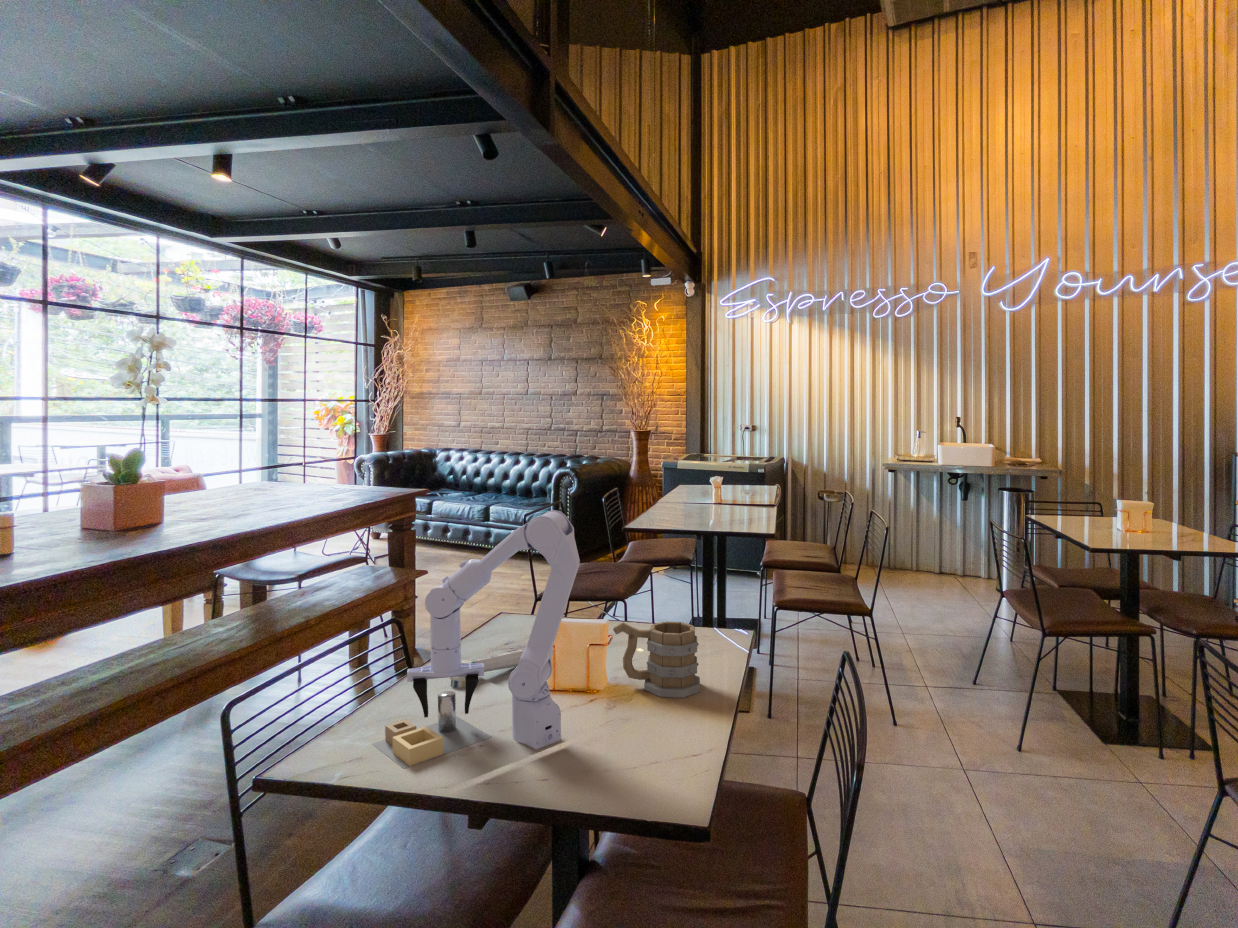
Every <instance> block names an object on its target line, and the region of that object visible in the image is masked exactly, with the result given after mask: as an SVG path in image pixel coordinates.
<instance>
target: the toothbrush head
mask: <svg viewBox="0 0 1238 928" xmlns="http://www.w3.org/2000/svg"><path fill="white" fill-rule="evenodd" d="M524 650H525V648H523V647H520V648H519V649H516V650H512V651H507V652H504V653H503V652H502V653H500V654H494V655H491V656H485V657H482V658H477V659H473V660H470V659H469V660H468V659H461V663H476V664H477V663H483V664H484V673H486V672H492V671H500V670H505V669H509V668H510V669H511V668H516V667H517V666H518V664H519V661H520V658H521V656H522V654H523V652H524ZM449 680H450V687H453V688H465V676H461V677H449Z"/></svg>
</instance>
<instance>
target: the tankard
mask: <svg viewBox="0 0 1238 928" xmlns="http://www.w3.org/2000/svg"><path fill="white" fill-rule="evenodd" d="M695 627H696V626H694V625H692V624H689V623H687V622H683V621H682V622H681V621H661V622H657V623H652V624H651V625H650V629H639V628H636V627H633V626H631V625H629V624H628V623H625V622H623V621H622V622H621V623H619V624H617V625H615V626H613V628H612V630H613V632H614V633H615V635H619V634H620V633H622V632H623V633H625V634H626V635H627V636H628V637H627V638H628V639H627V646H626V649H625V651H624V653H623V654H624V655H623V658H622V668H623V670H624V672H625V673H626V675H627V677H628V678H629V679H633V680H639V681H643V680H644V686H643V687H644V691H646V692H648V693H650V694H653V695H655V696H657V697H660V698H677V699H678V698H679V699H684V698H687V697H689V696H693V695H695V694H698V693H701V679H700V676H698V675H697V674H698V667H699V663H698V656H696V653H698V646H699V642H698V636H697V635H695V634H696V633H695V632H696V628H695ZM638 638H640V639H641V638H642V639H647V641H646V645H647V649H646V650H647V651H648V652H649V655H648V658H647V661H646V665H647V669H641V670H640V669H636V668H634V665H633V658H634V656H635V653H636V650H637V645H638Z"/></svg>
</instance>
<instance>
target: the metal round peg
mask: <svg viewBox="0 0 1238 928" xmlns="http://www.w3.org/2000/svg"><path fill="white" fill-rule="evenodd" d="M456 701H457V699H456V691H453V690H445V691H441V692H439V693H438V694H437V723H438V731H439V732H441V733H449V732H452V731H454V730H456V716H457V710H456V709H457V708H456V707H457V705H456V703H457V702H456Z"/></svg>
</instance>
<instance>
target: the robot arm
mask: <svg viewBox="0 0 1238 928" xmlns="http://www.w3.org/2000/svg"><path fill="white" fill-rule="evenodd" d="M532 548H533V549H534V550H535V551H537V552H538V553H539V554H541V555H542V556H543V557H544V559H545V560H546V562H547V564H548V565H549V566H550V572H549V576H548V579H547V581H546V584H545V587H544V591H543V594H542V597H541V600H540V603H539V606H538V609H537V612H536V616H535V619H534V622H533V625H532V628H531V631H530V634H529V637H528V640H527V644H526V646H525V648H524V649H525V650H524V652H523V654H522V656H521V658H520V661H519V664H518V666H517V667H514V669H513V670H512V671H511V672H510V674H509V676H508V680H507V686H508V690H509V691H510V693H511V709H512V711H511V713H512V714H511V715H512V716H511V717H512V718H511V719H512V720H511V721H512V722H511V723H512V724H511V725H512V728H511V729H512V730H511V731H512V733H511V734H512V739H513V740H514V741H515V742H517V743H520V744H524V745H526V746H529V747H530V748H532V749H534V750H538V749H541V748H544V747H546V746H549V745H552V744H554V743H556V742H559V741H561V740H562V721H561V720H562V718H561V717H562V713H561V709H560V706H559V705H558V703H557V702H555V701H554V700H553V698H552V696H551V693H550V691H551V689H550V686H549V684H548V680H549V679H550V677H551V675H552V672H553V665H552V658H553V655H554V654H553V653H554V650H553V647H554V644H555V641H556V638H557V635H558V632H559V629H560V626H561V623H562V619H563V616H564V613H565V611H566V607H567V605H568V601H569V598H570V594H571V593H572V592H571V591H572V589H573V587H574V582H575V580H576V576H577V574H578V570H579V567H580V563H581V560H580V556H579V551H578V547H577V542H576V539H575V527H574V526H573V524H572V523H571V522H570V520H569V519H568V516H567V515H566V514H565V513H563V512H562V511H559V510H557V509H556V510H555V509H551V510H548V511H545V512H544V513H543V514H541V515H538V516H535V517H533V518H532V519H531V520H530V521H528V522H527V523H525V524H523V525H522V526H519V527H518V528H516V529H514V530H513V531H512V532H511V533H510V534H508V535H507V536H506V537H505V538H503V540H501V541H500V542H499V543H498V544H497V545H496V546H495V547H494V548H492V549H491V550H490V551H489V552H488V553H487V554H485V555H484V556H483V557H482V558H481V559H478V558H472V559H469V560H467V559H465V560H463V561H462V562H461V563H459V567H460V568H458V569H457V570H456V571H455V572H454V573H453V574H451V575H450V576H445V577H444V578H443V579H442V580H441V582H442V584H441V585H438V586H435V587H433V588H431V589H430V590H429V592H428V594H427V595H426V596H425V599H424V606H425V609H426V612H427V613H429V617H430V618H429V619H430V623H429V625H430V630H429V632H430V633H429V634H430V664H428V665H425V666H420V667H413V668H407V670H406V678H407V679H406V682H407V683H410V682H411V683H412V688H413V690H414V692H415V694H416V696H417V697H418V699H419V700H418V701H420V704H421V709H422V710H423V711H422V712H423V718H428V717H429V701H428V680H432V679H434V680H435V679H436V680H437V679H444V678H445V679H447V678H450V677H461V676H465V687H464V688H465V694H464V695H465V696H464V714H465V715H467V714H469V710H470V704H471V701H472V698H473V695H474V692H475V691H476V688H477V686H478V685H479V677H484V676H485V672H484V664H483V663H477V664H476V663H461V660H462V646H461V645H462V644H461V643H462V641H461V640H462V639H461V634H462V633H461V608H462V607H463V605H464V603H465V602H467V601H469V600H470V599H471V598H472V597H474V595H476V594H477V593H478V592H479V591H480V590H482V589H483V588H484V587H486V586H487V585H488V584H489V583H490V582H491V579H492V572H493V571H495V570H496V569H497V568H498V567H499V566H502V564H503V563H505V562H506V561H508V560H509V559H510V558H511V557H512V556H514V555H515V554H517V553H518V552H519V551H525V550H527V551H528V550H530V549H532Z"/></svg>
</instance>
